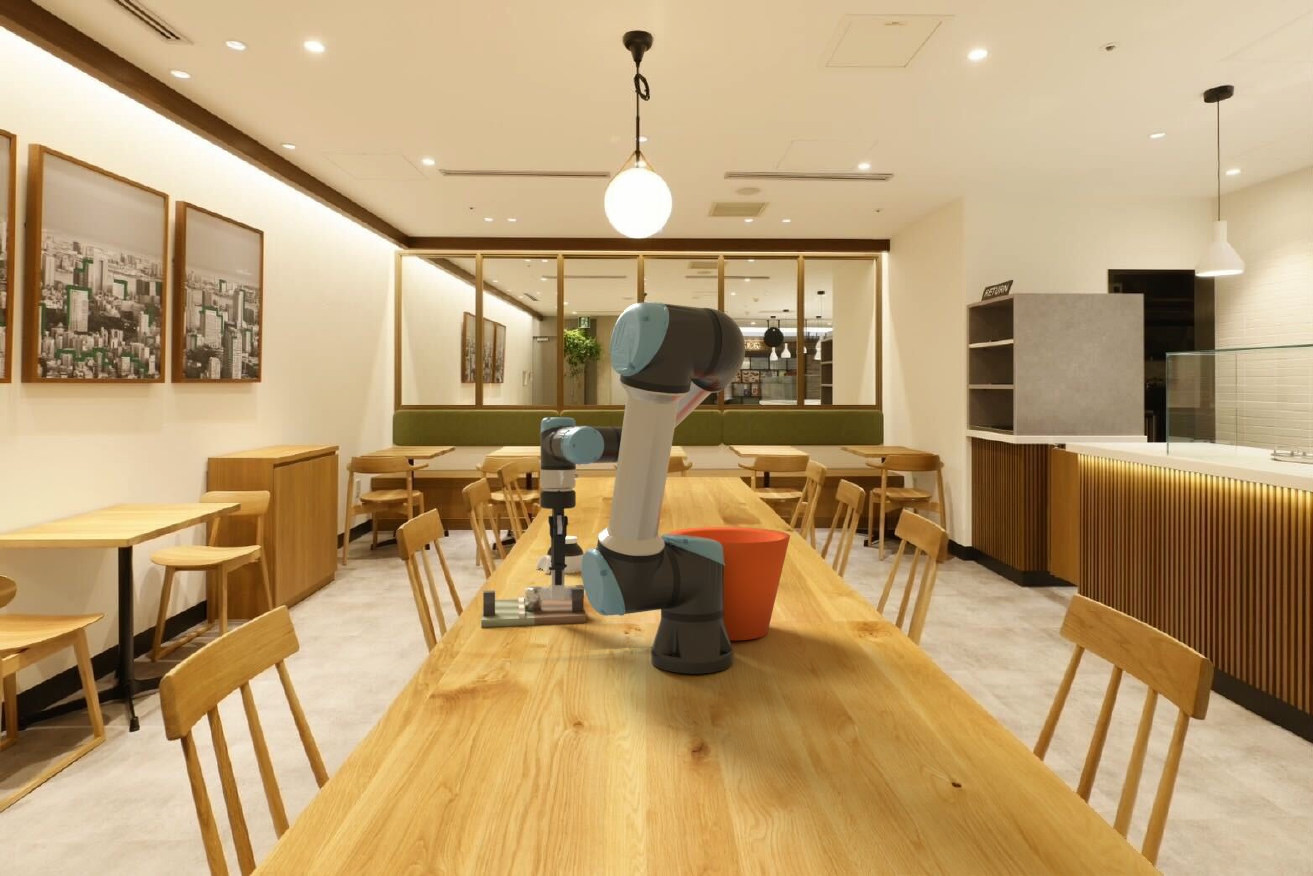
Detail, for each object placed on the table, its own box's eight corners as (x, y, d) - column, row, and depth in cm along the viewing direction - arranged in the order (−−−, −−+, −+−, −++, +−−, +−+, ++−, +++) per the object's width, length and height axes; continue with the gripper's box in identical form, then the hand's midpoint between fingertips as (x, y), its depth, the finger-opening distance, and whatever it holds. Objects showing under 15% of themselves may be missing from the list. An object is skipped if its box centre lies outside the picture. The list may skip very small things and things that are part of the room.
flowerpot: (702, 610, 171) (702, 524, 171) (807, 624, 158) (807, 531, 158) (645, 635, 150) (645, 536, 150) (761, 654, 137) (761, 546, 137)
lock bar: (525, 611, 163) (525, 589, 163) (525, 607, 166) (525, 586, 166) (584, 608, 165) (584, 587, 165) (582, 605, 168) (582, 584, 168)
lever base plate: (586, 622, 160) (586, 592, 160) (481, 627, 156) (481, 596, 156) (578, 603, 179) (578, 575, 178) (484, 606, 174) (484, 579, 174)
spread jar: (588, 578, 209) (588, 537, 209) (562, 585, 200) (562, 542, 200) (555, 574, 216) (555, 534, 216) (528, 580, 206) (528, 538, 206)
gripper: (578, 491, 154) (578, 605, 154) (573, 487, 167) (572, 592, 167) (541, 492, 152) (541, 607, 153) (539, 487, 165) (538, 593, 165)
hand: (557, 599), depth 160 cm, fingers closed
